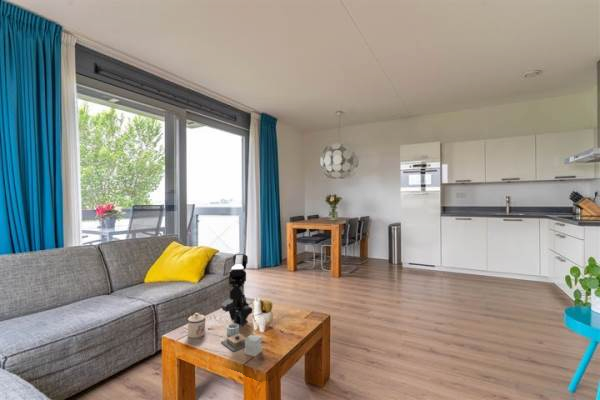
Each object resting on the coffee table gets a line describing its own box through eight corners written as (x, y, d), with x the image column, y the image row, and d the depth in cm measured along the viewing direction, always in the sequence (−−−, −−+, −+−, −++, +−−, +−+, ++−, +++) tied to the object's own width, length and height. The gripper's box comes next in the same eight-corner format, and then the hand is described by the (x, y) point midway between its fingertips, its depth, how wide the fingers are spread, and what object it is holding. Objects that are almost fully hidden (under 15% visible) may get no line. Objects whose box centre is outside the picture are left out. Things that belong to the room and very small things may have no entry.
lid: (239, 337, 155) (239, 331, 155) (247, 342, 150) (247, 336, 150) (226, 341, 150) (226, 336, 150) (234, 347, 145) (234, 341, 145)
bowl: (235, 329, 165) (235, 322, 165) (241, 333, 161) (241, 326, 161) (224, 333, 161) (224, 325, 161) (230, 337, 156) (230, 329, 156)
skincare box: (255, 357, 137) (255, 341, 137) (244, 354, 140) (244, 338, 140) (262, 350, 143) (262, 335, 143) (251, 348, 145) (251, 333, 145)
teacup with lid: (198, 339, 154) (198, 317, 153) (183, 337, 156) (183, 315, 156) (211, 329, 165) (211, 309, 165) (198, 327, 168) (198, 307, 168)
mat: (241, 335, 159) (241, 334, 159) (253, 343, 150) (253, 342, 150) (220, 342, 150) (220, 341, 150) (233, 352, 142) (233, 350, 142)
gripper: (214, 292, 151) (214, 322, 151) (233, 301, 137) (233, 334, 137) (233, 287, 158) (233, 316, 159) (252, 296, 145) (252, 327, 145)
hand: (237, 323), depth 150 cm, fingers open, 9 cm apart
